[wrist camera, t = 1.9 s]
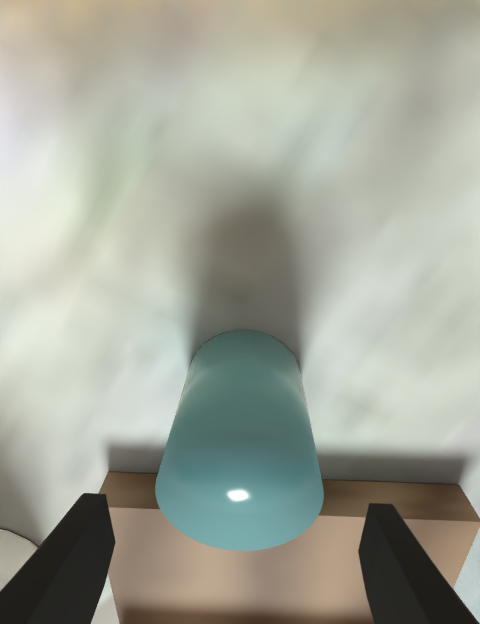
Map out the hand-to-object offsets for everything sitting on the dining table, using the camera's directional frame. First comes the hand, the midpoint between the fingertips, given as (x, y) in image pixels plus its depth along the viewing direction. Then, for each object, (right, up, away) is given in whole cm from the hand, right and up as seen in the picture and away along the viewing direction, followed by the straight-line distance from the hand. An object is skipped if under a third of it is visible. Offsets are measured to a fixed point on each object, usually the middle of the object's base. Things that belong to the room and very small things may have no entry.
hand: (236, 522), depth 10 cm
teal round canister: (0, +3, +6) cm, 7 cm away
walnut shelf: (+2, -8, +11) cm, 14 cm away
